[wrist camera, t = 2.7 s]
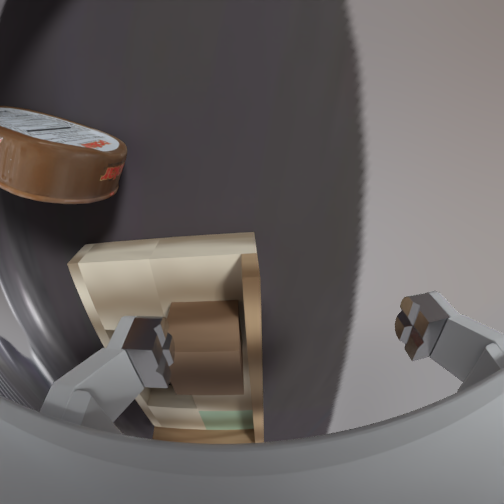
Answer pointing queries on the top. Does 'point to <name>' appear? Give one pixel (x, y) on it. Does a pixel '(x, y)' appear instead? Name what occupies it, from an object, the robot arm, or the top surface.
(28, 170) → the tin
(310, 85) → the top surface
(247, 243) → the board
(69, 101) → the top surface
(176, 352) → the walnut block
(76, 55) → the top surface
